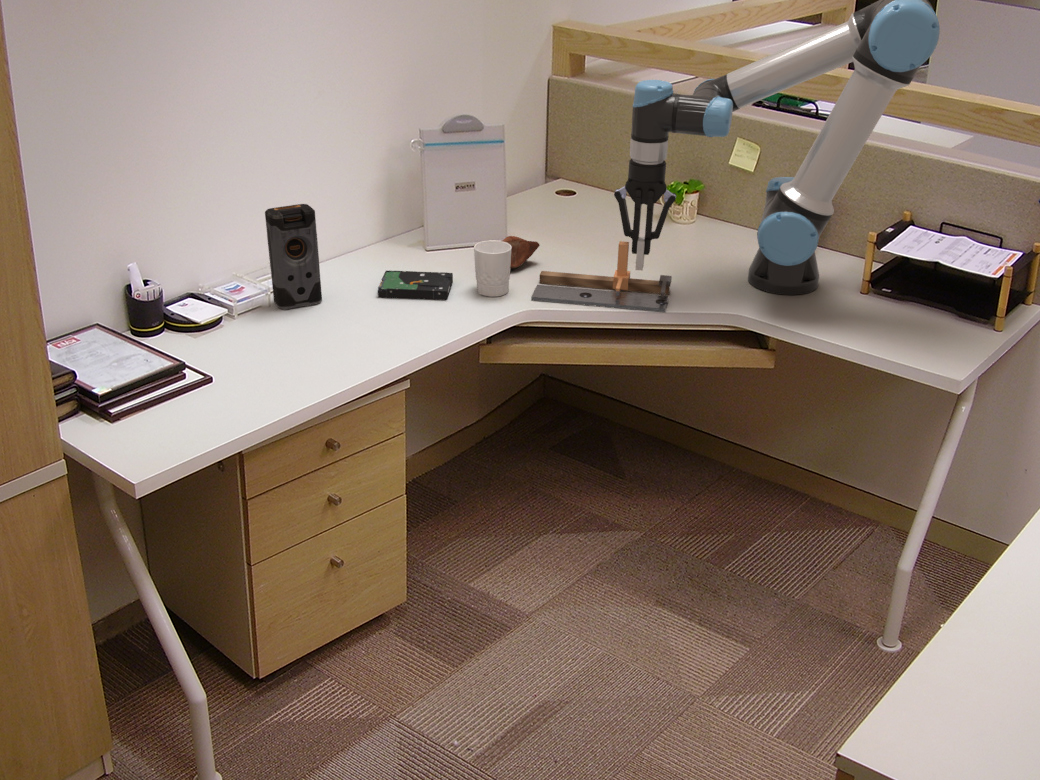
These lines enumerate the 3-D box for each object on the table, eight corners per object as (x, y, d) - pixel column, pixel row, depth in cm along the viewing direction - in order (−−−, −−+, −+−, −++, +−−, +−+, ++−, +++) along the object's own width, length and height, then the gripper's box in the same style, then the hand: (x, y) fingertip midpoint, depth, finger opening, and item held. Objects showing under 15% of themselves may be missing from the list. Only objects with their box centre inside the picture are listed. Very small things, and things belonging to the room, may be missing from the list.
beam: (670, 289, 232) (671, 275, 230) (667, 307, 224) (668, 292, 222) (541, 278, 237) (542, 264, 235) (533, 295, 228) (534, 281, 227)
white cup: (506, 299, 226) (507, 254, 221) (470, 296, 227) (469, 251, 223) (514, 285, 233) (515, 241, 228) (479, 282, 234) (478, 238, 230)
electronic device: (280, 311, 219) (270, 217, 210) (272, 301, 224) (262, 208, 214) (324, 303, 223) (317, 210, 214) (315, 293, 228) (307, 202, 218)
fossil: (542, 244, 246) (527, 216, 238) (546, 271, 241) (532, 244, 233) (490, 261, 248) (474, 234, 241) (494, 289, 244) (477, 262, 236)
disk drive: (453, 284, 235) (385, 281, 235) (453, 272, 234) (385, 269, 234) (447, 303, 226) (377, 300, 226) (447, 290, 224) (377, 287, 225)
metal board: (669, 299, 227) (669, 295, 227) (666, 312, 221) (666, 308, 221) (537, 288, 232) (537, 284, 231) (531, 300, 226) (531, 296, 225)
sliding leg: (629, 282, 233) (632, 240, 229) (624, 300, 225) (627, 256, 220) (615, 281, 234) (617, 239, 229) (609, 299, 225) (611, 255, 221)
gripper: (681, 156, 221) (671, 264, 232) (618, 152, 223) (611, 259, 234) (678, 167, 214) (668, 277, 226) (613, 162, 216) (607, 271, 228)
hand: (639, 267), depth 230 cm, fingers closed
